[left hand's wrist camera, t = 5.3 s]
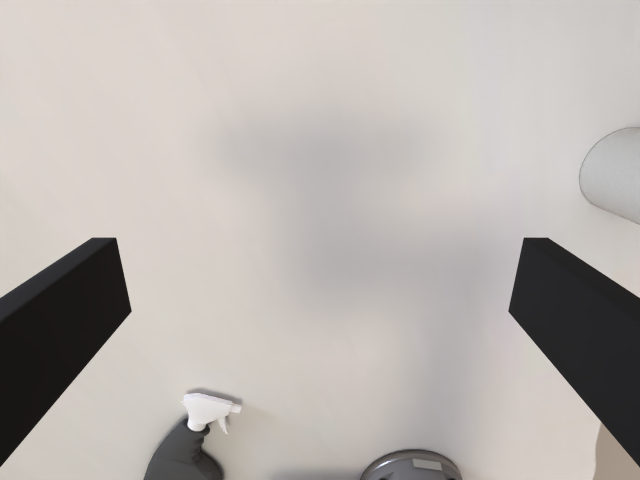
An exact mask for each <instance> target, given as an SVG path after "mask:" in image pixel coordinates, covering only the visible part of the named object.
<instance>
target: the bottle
mask: <svg viewBox="0 0 640 480" xmlns="http://www.w3.org/2000/svg"><path fill="white" fill-rule="evenodd" d="M580 187H581V190H582V193H583V195H584V196H585V198H586V199H587V200H588V201H589V202H590V203H591V204H593V205H595V206H597V207H599V208H602V209H604V210H606V211H609V212H611V213H613V214H616V215H618V216H620V217H623V218H625V219H627V220H630V221H632V222H634V223H637V224H639V225H640V128H626V129H622V130H619V131H616V132H613V133H612V134H610V135H608V136H606V137H605V138H603V139H602V140H601V141H599V142H598V143H597V144H596V145H595V146H594V147H593V148H592V149H591V151H590V152H589V153H588V155H587V156H586V158H585V160H584V162H583V165H582V168H581V171H580Z"/></svg>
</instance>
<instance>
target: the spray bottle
mask: <svg viewBox="0 0 640 480" xmlns="http://www.w3.org/2000/svg"><path fill="white" fill-rule="evenodd" d="M232 402H233V401H229V400H225V399H221V398H217V397H213V396H209V395H205V394H201V393H193V394H186V395H185V396H184V399H183V401H182V403H183V404H184V406H185V407H186V408H187V411H188V414H189V419H184V420H183V421H182V422H181V423H180V424H179V425H178V426H177V427H176V428H175V429H174V430H173V431H172V432H171V433H170V435H169V436H168V437H167V438H166V439H165V440H164V441H163V443H162V444H161V445H160V447H159V448H158V449H157V451H156V452H155V453H154V455H153V457H152V459H151V461H150V463H149V465H148V468H147V471H146V474H145V477H144V480H222V475H221V472H220V471H219V470H218V468H217V467H216V465H215V464H214V462H213V461H212V460H210V459H209V458H208V457H207V456H206V455H204V454H203V453H201V452H200V448H201V446H200V445H201V444H202V443H203V442H204V436H206V435H207V434H208V433H209V432H210V428H209V426H208V425H207V423H209V422H211V421H213V420H216V419H217V420H218V421H219V423H220V425H221V427H222V429H223V431H224V432H225V434H228V432H229V431H228V427H227V423H226V419H225V416H227V415H228V414H229V412H234V413H240V410H241V405H237V404H233V403H232Z"/></svg>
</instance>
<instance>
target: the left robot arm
mask: <svg viewBox="0 0 640 480" xmlns="http://www.w3.org/2000/svg"><path fill="white" fill-rule="evenodd" d="M131 312H132V311H131V306H130V301H129V297H128V292H127V287H126V282H125V278H124V273H123V268H122V263H121V259H120V254H119V249H118V245H117V240H116V238H91V239H90V240H88V241H87V242H85V243H83V244H82V245H80V246H79V247H77V248H76V249H74V250H73V251H71V252H70V253H68V254H67V255H65V256H64V257H62V258H61V259H59V260H58V261H56V262H55V263H53V264H51V265H50V266H48V267H47V268H45V269H44V270H42V271H41V272H39V273H38V274H36V275H35V276H33V277H32V278H30V279H29V280H27V281H26V282H24V283H23V284H21V285H20V286H18V287H16V288H15V289H13V290H12V291H10V292H9V293H7V294H6V295H4V296H3V297H1V298H0V467H1V466H2V465H3V463H4V462H5V461H6V460H7V459H8V457H9V456H10V455H11V454H12V453H13V452H14V450H15V449H16V448H17V447H18V446H19V444H20V443H21V442H22V441H23V440H24V438H25V437H26V436H27V435H28V434H29V433H30V431H31V430H32V429H33V428H34V427H35V425H36V424H37V423H38V422H39V421H40V419H41V418H42V417H43V416H44V415H45V414H46V412H47V411H48V410H49V409H50V408H51V406H52V405H53V404H54V403H55V402H56V401H57V399H58V398H59V397H60V396H61V395H62V393H63V392H64V391H65V390H66V389H67V387H68V386H69V385H70V384H71V383H72V382H73V380H74V379H75V378H76V377H77V376H78V374H79V373H80V372H81V371H82V370H83V369H84V367H85V366H86V365H87V364H88V363H89V361H90V360H91V359H92V358H93V357H94V355H95V354H96V353H97V352H98V351H99V350H100V348H101V347H102V346H103V345H104V344H105V342H106V341H107V340H108V339H109V338H110V337H111V335H112V334H113V333H114V332H115V331H116V329H117V328H118V327H119V326H120V325H121V323H122V322H123V321H124V320H125V319H126V318H127V316H128V315H129V314H130V313H131ZM508 312H509V313H510V314H511V315H512V316H513V318H514V319H515V320H516V321H517V322H518V323H519V325H520V326H521V327H522V328H523V329H524V331H525V332H526V333H527V334H528V335H529V337H530V338H531V339H532V340H533V341H534V342H535V344H536V345H537V346H538V347H539V348H540V350H541V351H542V352H543V353H544V354H545V355H546V357H547V358H548V359H549V360H550V361H551V363H552V364H553V365H554V366H555V367H556V369H557V370H558V371H559V372H560V373H561V374H562V376H563V377H564V378H565V379H566V380H567V382H568V383H569V384H570V385H571V386H572V387H573V389H574V390H575V391H576V392H577V393H578V395H579V396H580V397H581V398H582V399H583V401H584V402H585V403H586V404H587V405H588V406H589V408H590V409H591V410H592V411H593V412H594V414H595V415H596V416H597V417H598V418H599V419H600V421H601V422H602V423H603V424H604V425H605V427H606V428H607V429H608V430H609V431H610V433H611V434H612V435H613V436H614V437H615V438H616V440H617V441H618V442H619V443H620V444H621V446H622V447H623V448H624V449H625V450H626V452H627V453H628V454H629V455H630V456H631V457H632V458H633V460H634V461H635V462H636V463H637V465H638V466H639V467H640V298H639V297H637V296H636V295H634V294H633V293H631V292H630V291H628V290H627V289H625V288H624V287H622V286H620V285H619V284H617V283H616V282H614V281H613V280H611V279H610V278H608V277H607V276H605V275H604V274H602V273H601V272H599V271H598V270H596V269H595V268H593V267H592V266H590V265H589V264H587V263H585V262H584V261H582V260H581V259H579V258H578V257H576V256H575V255H573V254H572V253H570V252H569V251H567V250H566V249H564V248H563V247H561V246H560V245H558V244H557V243H555V242H553V241H552V240H550V239H549V238H524V240H523V245H522V249H521V254H520V259H519V263H518V268H517V273H516V278H515V282H514V287H513V292H512V297H511V301H510V306H509V311H508ZM360 480H462V477H461V474H460V472H459V470H458V468H457V467H456V466H455V465H454V464H453V463H452V462H451V461H450V460H448V459H447V458H445V457H443V456H441V455H439V454H436V453H433V452H428V451H421V450H408V451H401V452H396V453H393V454H390V455H387V456H385V457H383V458H381V459H379V460H377V461H376V462H374V463H373V464H372V465H371V466H369V467H368V469H367V470H366V471H365V472H364V473H363V475H362V477H361V479H360Z"/></svg>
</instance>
